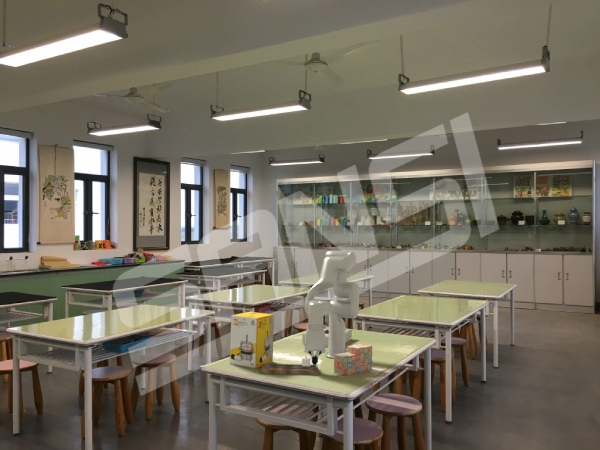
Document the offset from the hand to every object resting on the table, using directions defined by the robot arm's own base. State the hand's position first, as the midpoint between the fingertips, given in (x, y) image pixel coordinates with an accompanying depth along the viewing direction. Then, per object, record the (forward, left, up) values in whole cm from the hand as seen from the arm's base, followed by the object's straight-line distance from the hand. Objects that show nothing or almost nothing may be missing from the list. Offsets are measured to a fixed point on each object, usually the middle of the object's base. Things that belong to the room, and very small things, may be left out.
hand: (314, 364), depth 239 cm
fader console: (+12, 0, -4) cm, 13 cm away
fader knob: (+4, 0, -1) cm, 5 cm away
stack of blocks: (-20, -3, -4) cm, 20 cm away
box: (-14, -73, -4) cm, 74 cm away
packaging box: (+32, -16, -4) cm, 36 cm away
